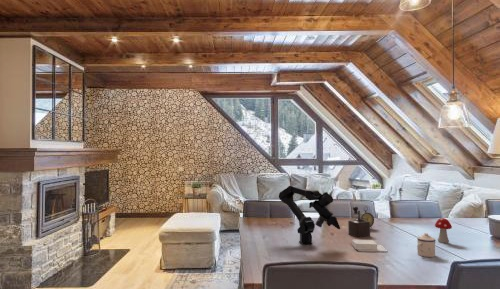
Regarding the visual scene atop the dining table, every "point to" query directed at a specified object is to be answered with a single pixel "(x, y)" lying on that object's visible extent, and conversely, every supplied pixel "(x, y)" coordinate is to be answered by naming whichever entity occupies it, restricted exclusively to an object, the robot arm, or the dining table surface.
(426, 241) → the teacup with lid
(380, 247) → the mat
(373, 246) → the beige rectangular block
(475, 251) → the dining table surface
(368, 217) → the alarm clock
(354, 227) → the dark brown boxy piece
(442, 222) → the decorative mushroom
